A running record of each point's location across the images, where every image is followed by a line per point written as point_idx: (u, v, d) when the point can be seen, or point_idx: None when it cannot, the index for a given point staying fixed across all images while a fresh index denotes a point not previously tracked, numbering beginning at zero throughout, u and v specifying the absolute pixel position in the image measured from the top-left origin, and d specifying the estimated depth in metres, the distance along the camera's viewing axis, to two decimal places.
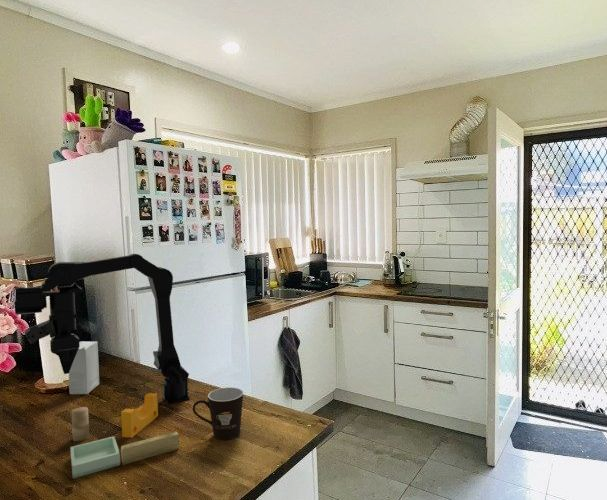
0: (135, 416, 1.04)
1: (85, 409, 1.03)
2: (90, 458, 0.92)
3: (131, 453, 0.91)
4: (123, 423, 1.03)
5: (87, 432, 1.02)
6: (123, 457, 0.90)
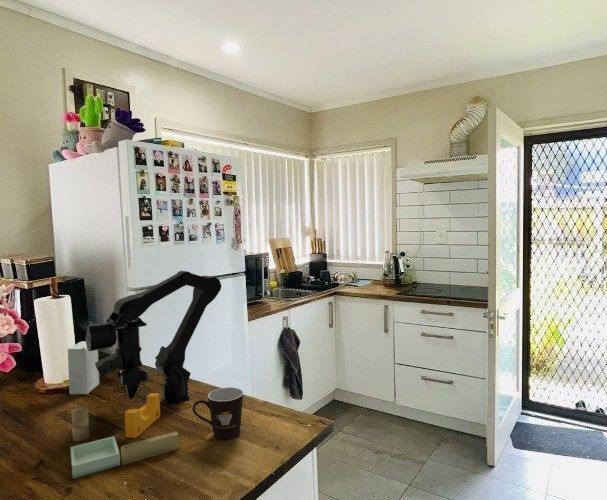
0: (139, 416, 1.04)
1: (85, 409, 1.03)
2: (90, 458, 0.92)
3: (131, 453, 0.91)
4: (127, 423, 1.02)
5: (87, 432, 1.02)
6: (123, 457, 0.90)
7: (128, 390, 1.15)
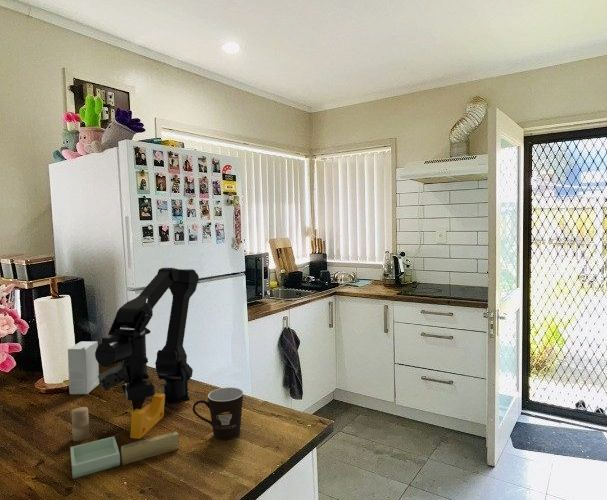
0: (145, 417, 1.03)
1: (85, 409, 1.03)
2: (90, 458, 0.92)
3: (131, 453, 0.91)
4: (133, 423, 1.02)
5: (87, 432, 1.02)
6: (123, 457, 0.90)
7: (133, 405, 1.07)
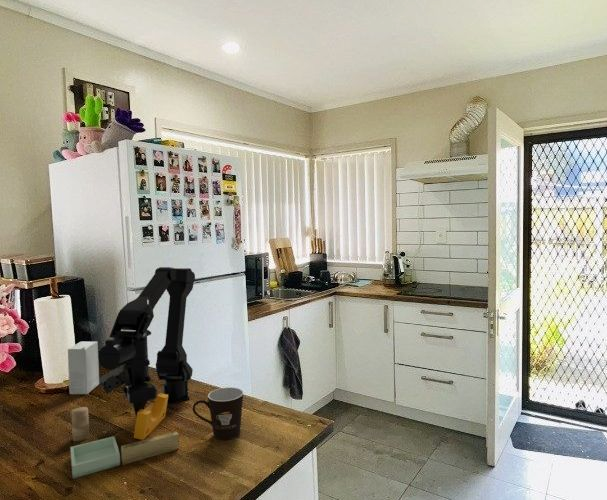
0: (150, 418, 1.03)
1: (85, 409, 1.03)
2: (90, 458, 0.92)
3: (131, 453, 0.91)
4: (137, 424, 1.01)
5: (87, 432, 1.02)
6: (123, 457, 0.90)
7: (135, 408, 1.05)
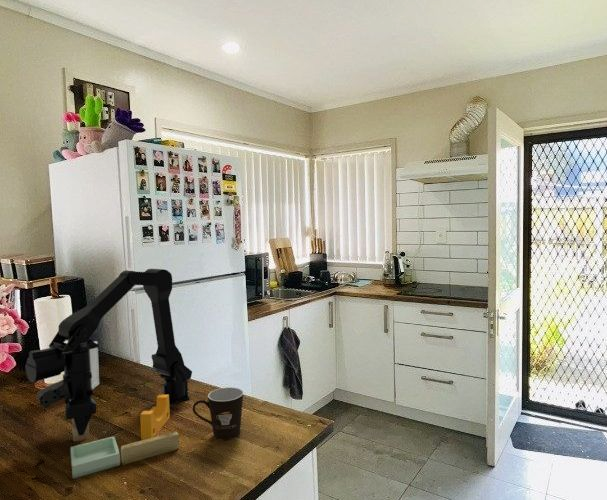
0: (154, 418, 1.03)
1: None
2: (90, 458, 0.92)
3: (131, 453, 0.91)
4: (142, 425, 1.01)
5: (87, 432, 1.02)
6: (123, 457, 0.90)
7: (77, 425, 1.00)
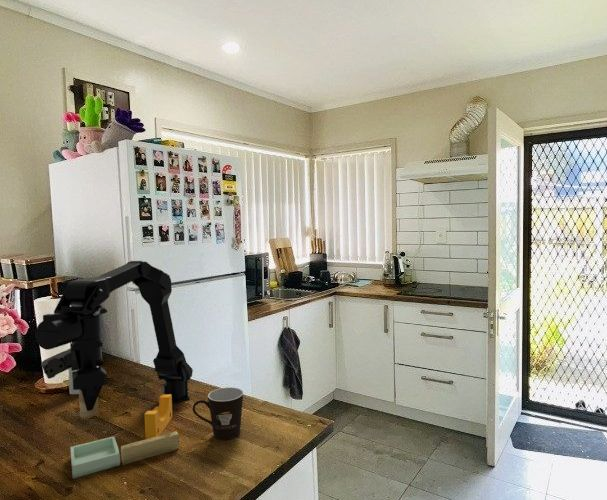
0: (158, 417, 1.03)
1: None
2: (90, 458, 0.92)
3: (131, 453, 0.91)
4: (146, 425, 1.01)
5: (96, 408, 0.92)
6: (123, 457, 0.90)
7: (85, 399, 0.89)
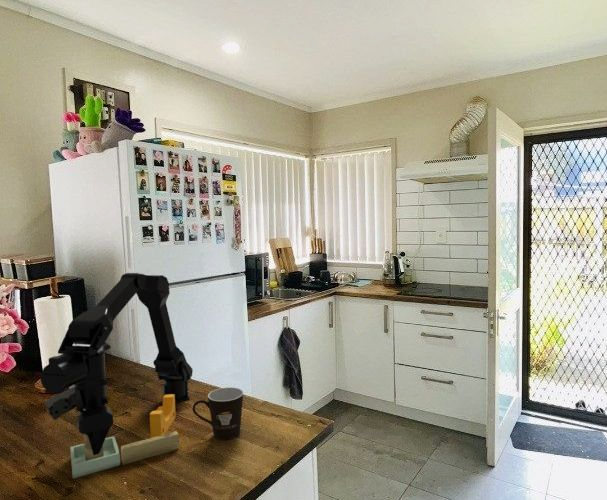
0: (163, 417, 1.03)
1: None
2: None
3: (131, 453, 0.91)
4: (152, 425, 1.01)
5: (101, 453, 0.91)
6: (123, 457, 0.90)
7: (92, 443, 0.86)
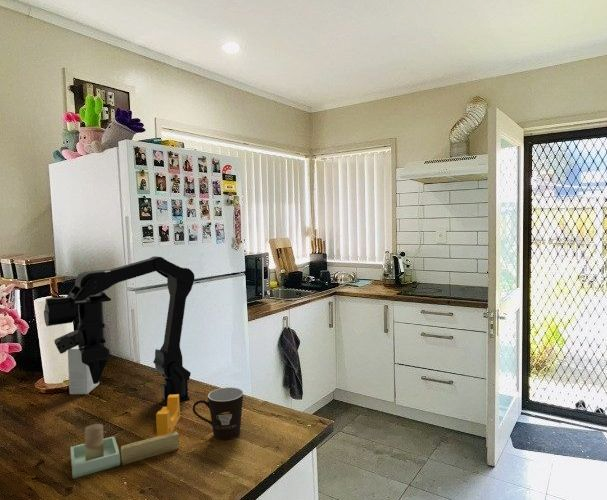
0: (169, 417, 1.03)
1: (100, 426, 0.92)
2: None
3: (131, 453, 0.91)
4: (158, 425, 1.01)
5: (102, 452, 0.92)
6: (123, 457, 0.90)
7: (92, 374, 1.05)
